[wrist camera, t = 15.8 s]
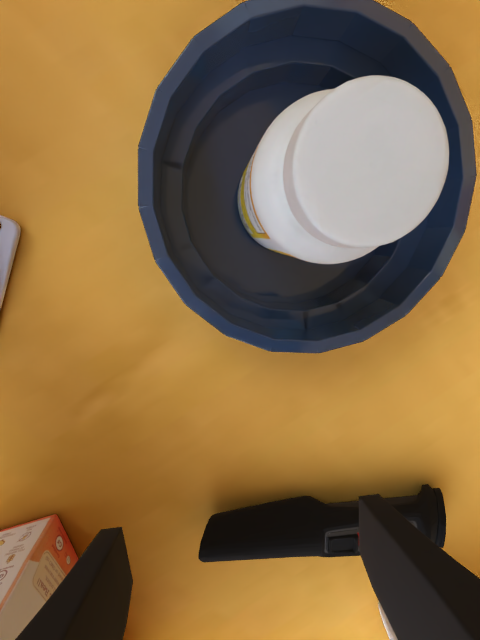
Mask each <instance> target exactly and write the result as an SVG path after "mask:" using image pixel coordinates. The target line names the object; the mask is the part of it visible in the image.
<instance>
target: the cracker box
mask: <svg viewBox="0 0 480 640" xmlns="http://www.w3.org/2000/svg"><path fill="white" fill-rule="evenodd" d="M78 560H79V559H78V557H77V555H76V553H75V551H74V548H73V547H72V545H71V542H70V540H69V538H68V536H67V534H66V532H65V530H64V528H63V525H62V524H61V522H60V520H59V517H58V516H57V514H54V515H50V516H47V517H44V518H40V519H37V520H34V521H30V522H27V523H24V524H20V525H16V526H13V527H10V528H7V529H3V530H0V640H15V639H16V638H17V637H18V635H19V634H20V633H21V632H22V631H23V629H24V628H25V627H26V626H27V625H28V623H29V622H30V621H31V620H32V619H33V617H34V616H35V615H36V614H37V613H38V611H39V610H40V609H41V608H42V606H43V605H44V604H45V603H46V601H47V600H48V599H49V598H50V596H51V595H52V594H53V592H54V591H55V590H56V589H57V587H58V586H59V585H60V583H61V582H62V581H63V580H64V578H65V577H66V576H67V574H68V573H69V572H70V570H71V569H72V568H73V566H74V565H75V564H76V562H77V561H78Z"/></svg>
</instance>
